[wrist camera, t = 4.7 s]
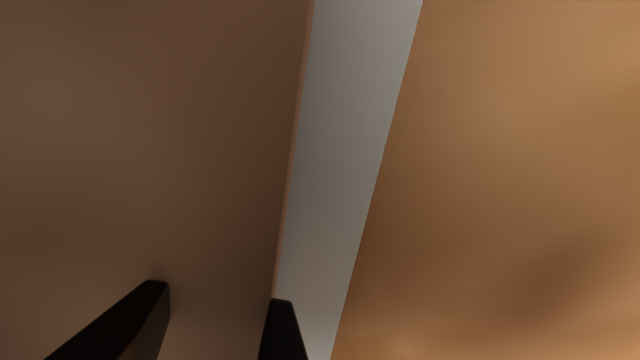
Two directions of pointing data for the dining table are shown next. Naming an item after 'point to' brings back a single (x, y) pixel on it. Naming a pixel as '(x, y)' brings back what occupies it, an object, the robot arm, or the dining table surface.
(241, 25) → the plank
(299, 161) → the underlay
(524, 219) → the dining table surface
